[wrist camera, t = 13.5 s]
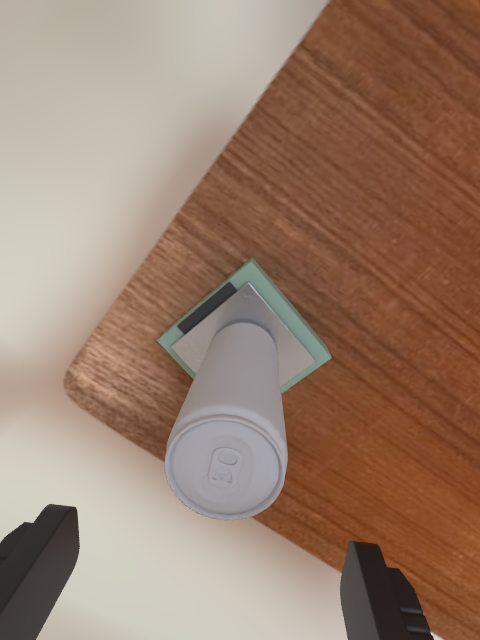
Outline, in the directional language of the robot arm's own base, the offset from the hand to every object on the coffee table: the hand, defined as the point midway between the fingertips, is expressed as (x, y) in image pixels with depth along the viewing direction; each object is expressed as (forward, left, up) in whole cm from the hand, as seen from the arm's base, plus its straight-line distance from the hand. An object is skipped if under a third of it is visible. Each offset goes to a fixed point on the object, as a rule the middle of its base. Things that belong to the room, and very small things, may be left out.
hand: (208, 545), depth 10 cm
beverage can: (0, 0, -15) cm, 15 cm away
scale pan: (0, 0, -16) cm, 16 cm away
